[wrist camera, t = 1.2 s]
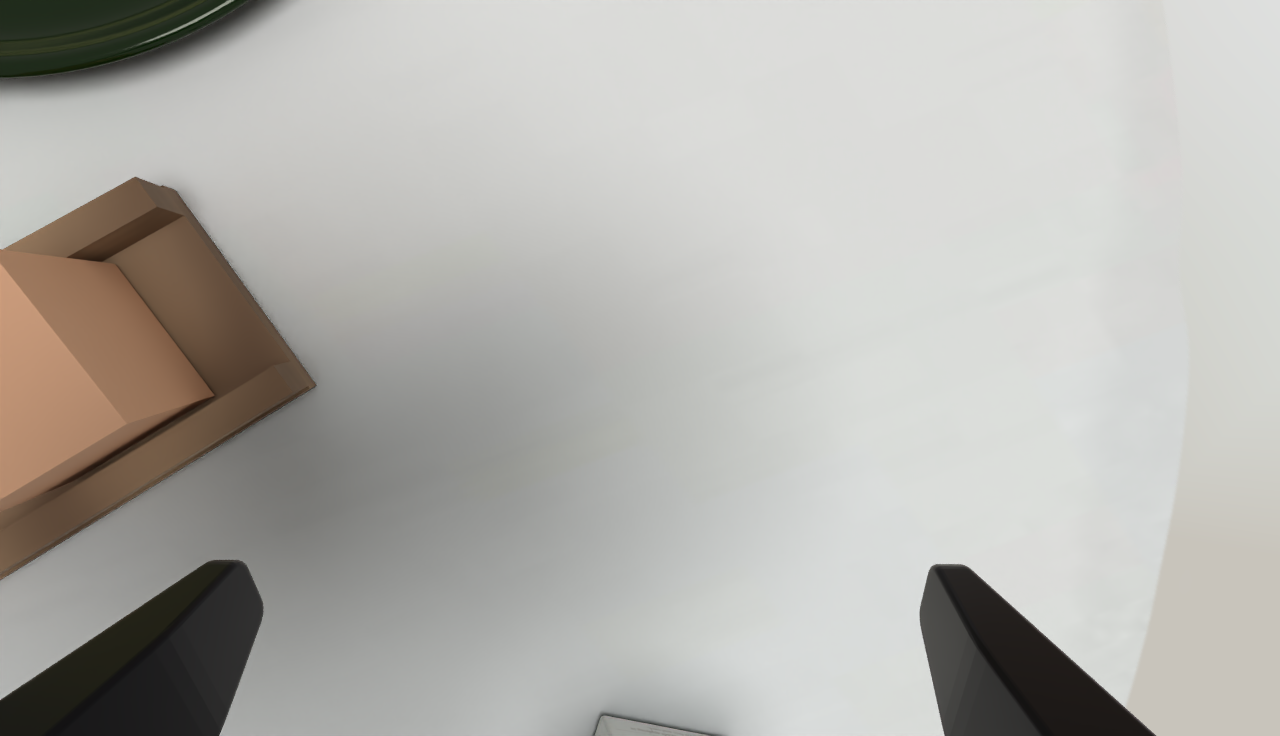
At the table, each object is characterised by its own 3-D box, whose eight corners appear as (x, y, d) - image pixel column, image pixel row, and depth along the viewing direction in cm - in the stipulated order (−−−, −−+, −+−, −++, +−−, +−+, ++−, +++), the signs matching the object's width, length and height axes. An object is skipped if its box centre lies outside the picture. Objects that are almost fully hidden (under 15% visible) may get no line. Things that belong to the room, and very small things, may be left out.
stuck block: (71, 481, 23) (-69, 540, 17) (-38, 349, 22) (-225, 364, 16) (215, 395, 24) (126, 423, 18) (115, 263, 23) (-12, 247, 17)
